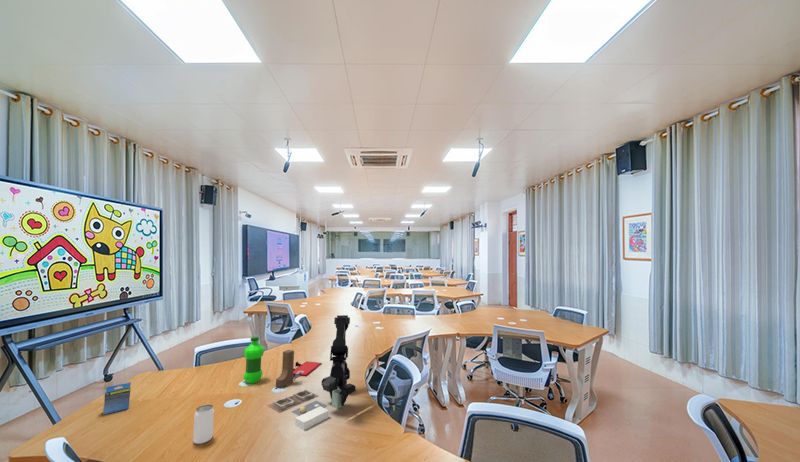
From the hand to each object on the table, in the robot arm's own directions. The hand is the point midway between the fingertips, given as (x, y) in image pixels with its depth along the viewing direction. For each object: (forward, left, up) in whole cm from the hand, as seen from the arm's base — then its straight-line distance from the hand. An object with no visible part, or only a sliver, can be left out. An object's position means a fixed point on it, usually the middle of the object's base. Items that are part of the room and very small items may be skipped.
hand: (337, 403), depth 147 cm
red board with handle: (-17, -55, -3) cm, 58 cm away
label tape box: (+66, -79, -2) cm, 103 cm away
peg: (0, 0, -2) cm, 2 cm away
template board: (+10, -8, -2) cm, 13 cm away
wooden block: (+1, -44, -2) cm, 44 cm away
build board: (+10, -21, -2) cm, 23 cm away
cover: (+16, +2, -2) cm, 16 cm away
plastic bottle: (+10, -62, -2) cm, 63 cm away
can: (+50, -22, -2) cm, 55 cm away
